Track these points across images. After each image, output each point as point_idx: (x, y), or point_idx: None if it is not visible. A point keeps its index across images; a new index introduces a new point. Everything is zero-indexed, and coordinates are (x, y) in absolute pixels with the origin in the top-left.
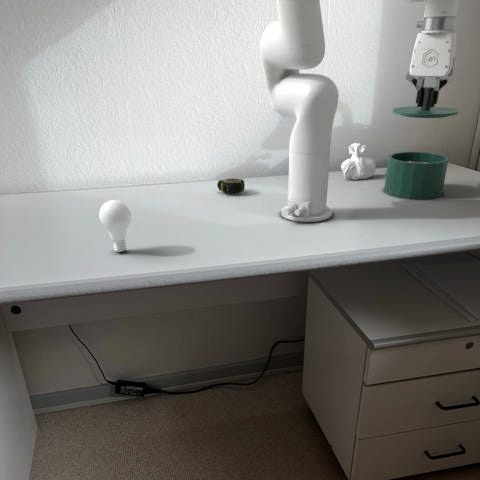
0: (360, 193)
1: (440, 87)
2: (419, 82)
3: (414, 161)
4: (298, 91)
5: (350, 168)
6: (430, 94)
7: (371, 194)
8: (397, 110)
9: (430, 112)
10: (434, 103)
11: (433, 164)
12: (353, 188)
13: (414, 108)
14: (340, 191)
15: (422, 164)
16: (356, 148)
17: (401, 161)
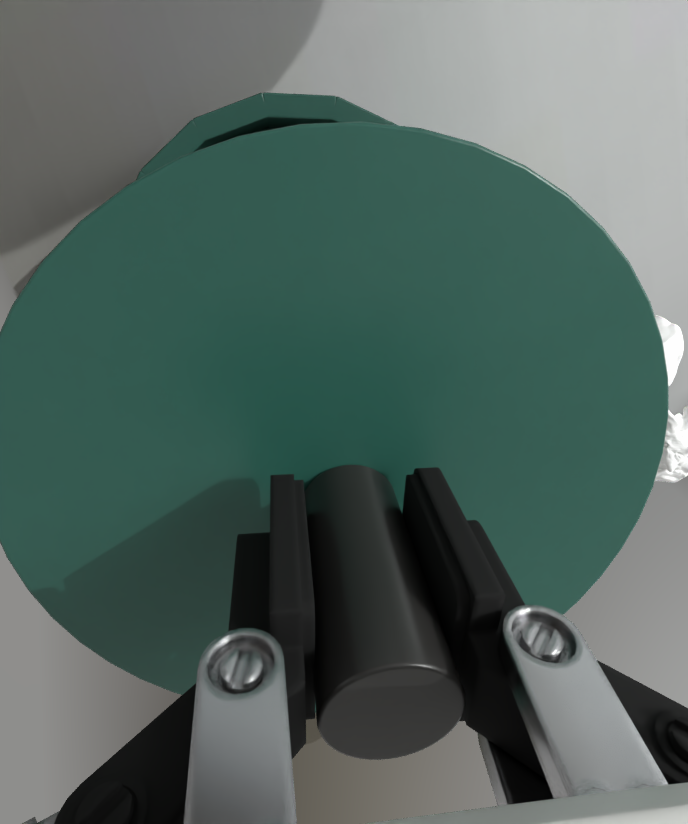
0: (513, 103)
1: (180, 706)
2: (586, 718)
3: None
4: None
5: None
6: (327, 604)
7: (459, 111)
8: (620, 344)
9: (234, 325)
10: (254, 534)
11: (155, 155)
12: (559, 186)
13: None
14: (613, 92)
15: (217, 111)
16: (669, 417)
17: (364, 113)
